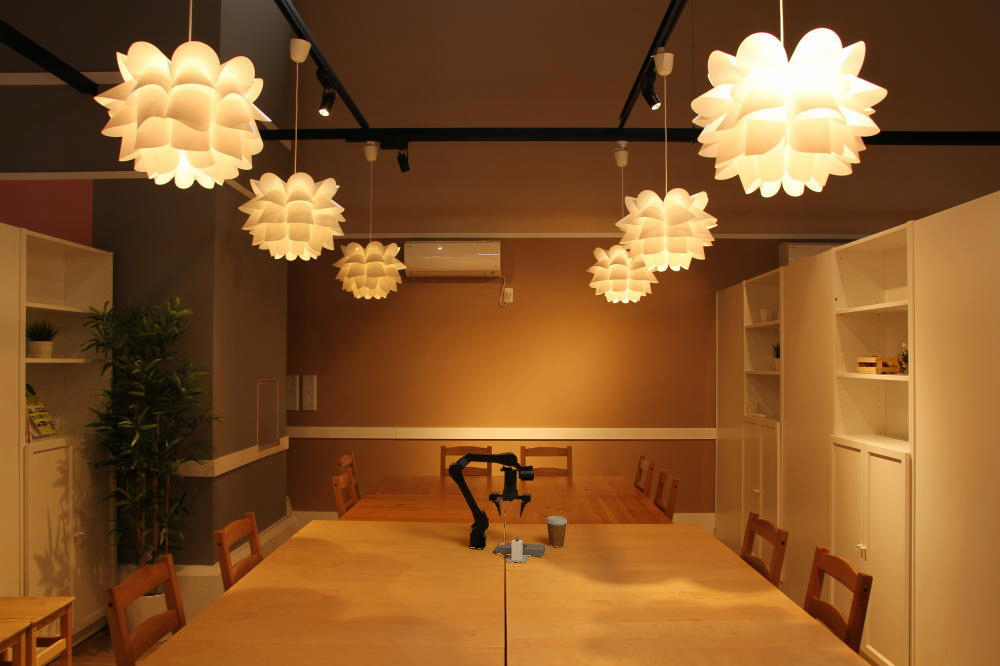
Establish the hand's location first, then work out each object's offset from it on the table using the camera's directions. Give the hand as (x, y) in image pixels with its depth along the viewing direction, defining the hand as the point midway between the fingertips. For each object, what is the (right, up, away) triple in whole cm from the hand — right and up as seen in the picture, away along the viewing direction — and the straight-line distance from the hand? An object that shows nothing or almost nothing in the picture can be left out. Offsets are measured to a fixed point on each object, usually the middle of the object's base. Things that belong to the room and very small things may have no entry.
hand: (510, 516), depth 270 cm
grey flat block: (+4, -12, -10) cm, 17 cm away
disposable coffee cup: (+21, -13, +1) cm, 25 cm away
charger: (+2, -11, -19) cm, 23 cm away
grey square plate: (+2, -12, -20) cm, 23 cm away
